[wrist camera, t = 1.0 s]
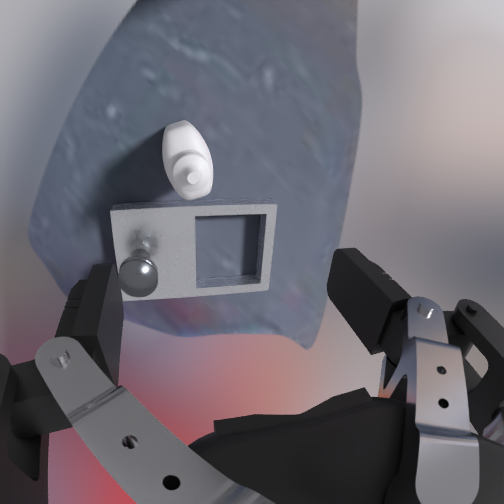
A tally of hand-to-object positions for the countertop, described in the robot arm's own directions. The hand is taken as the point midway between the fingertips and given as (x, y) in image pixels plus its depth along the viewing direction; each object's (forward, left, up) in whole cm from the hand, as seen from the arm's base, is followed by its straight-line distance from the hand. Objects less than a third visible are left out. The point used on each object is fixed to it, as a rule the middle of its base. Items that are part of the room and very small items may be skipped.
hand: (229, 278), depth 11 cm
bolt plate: (+8, 0, -20) cm, 22 cm away
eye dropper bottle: (-2, -1, -21) cm, 21 cm away
